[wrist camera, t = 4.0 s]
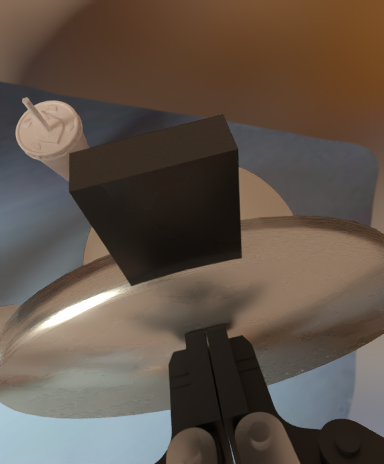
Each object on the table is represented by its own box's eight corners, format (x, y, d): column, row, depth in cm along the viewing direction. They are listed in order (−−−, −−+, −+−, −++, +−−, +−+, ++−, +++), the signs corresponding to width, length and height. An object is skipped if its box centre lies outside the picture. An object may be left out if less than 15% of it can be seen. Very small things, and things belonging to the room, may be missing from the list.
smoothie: (72, 207, 41) (3, 141, 28) (49, 169, 43) (-26, 90, 30) (118, 179, 42) (72, 101, 29) (93, 142, 44) (39, 54, 31)
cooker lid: (346, 343, 25) (356, 363, 24) (96, 407, 25) (97, 430, 24) (608, 8, 7) (687, 46, 6) (-327, 244, 7) (-385, 317, 6)
